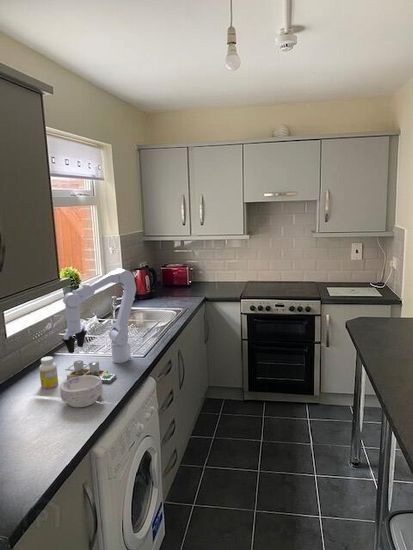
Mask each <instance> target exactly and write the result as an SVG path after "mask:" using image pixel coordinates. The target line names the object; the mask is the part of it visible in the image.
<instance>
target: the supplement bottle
mask: <svg viewBox="0 0 413 550" xmlns="http://www.w3.org/2000/svg"><path fill="white" fill-rule="evenodd" d="M40 363H41V364H40V365H39V379H40V387H41V389H43V390H51V389H55V388H57V387H58V386H59V378H58V367H57V364H56V362H55V361H54V357H53V356H44V357H42V358H40Z"/></svg>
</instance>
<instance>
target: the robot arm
mask: <svg viewBox="0 0 413 550" xmlns="http://www.w3.org/2000/svg"><path fill="white" fill-rule="evenodd" d="M135 278H136V277H135V275H134V274H133V272H131V271H130V270H127V269H124V268H121V267H119V268H118V267H117V268H116V269H115V270H112V271H110V272H109V273H107V274H105V275H104V276H103V277H100V278H99V279H98V280H96V281H94V282H93V283H86V284H85V283H84V284H81V286H80V287H79V288H77V289H73V290H72V292H68V293H67V292H66V294H64V296H63V298H62V301H63V304H64V305H65V306H64V307H65V319H66V320H65V321H66V329H65V332H64V334H63V336H62V339H61V340H62V342H63V343H64V344H65V346H66V348H67V350H68V354H74V353H75V343H76V344H77V347H78V348H83V347H84V343H85V337H86V335H87V333H88V331H87V330H85V329H86V325H85V324H81V316H80V315H81V314H80V307H79V306H80V304H81V303H82V302H84V301H85V300H87V299H89V298H91V297H93V296H95V293H96V291H98V290H99V289H102V288H104V287H105V286H108V285H109V284H119V285H121V287H122V288H123V293H122V297H121V301H120V306H119V309H118V313H117V318H116V321H115V323H114V324H113V325H112V327H111V330H110V331H109V333H108V337H109V339H110V340H111V343H110V346H111V348H110V349H111V358H112V363H114V364H120V363H121V364H122V363H125V362H127V361H131V360H133V356H132V353H131V345H130V343H129V328H128V323H129V319H130V316H131V312H132V308H133V305H134V299H135V296H136V293H137V286H136V281H135ZM73 336H75V337H73Z"/></svg>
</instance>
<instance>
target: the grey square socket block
mask: <svg viewBox="0 0 413 550" xmlns="http://www.w3.org/2000/svg"><path fill="white" fill-rule="evenodd" d="M105 374H106V373H104V374H103V375H105ZM109 374H110V378H109V379H108V378H104V376H103V375H102V376H101V377H100V378H101V380H102V384H111V383H112V382H113V381H115V379H117V373H109Z"/></svg>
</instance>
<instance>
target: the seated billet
mask: <svg viewBox="0 0 413 550" xmlns="http://www.w3.org/2000/svg"><path fill="white" fill-rule="evenodd" d="M88 366H89V369H90V375H92V376H97V377H98V376H99V375H100V370H101V369H100V362H99V361H95V360H94V361H91V362H89V365H88Z"/></svg>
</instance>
